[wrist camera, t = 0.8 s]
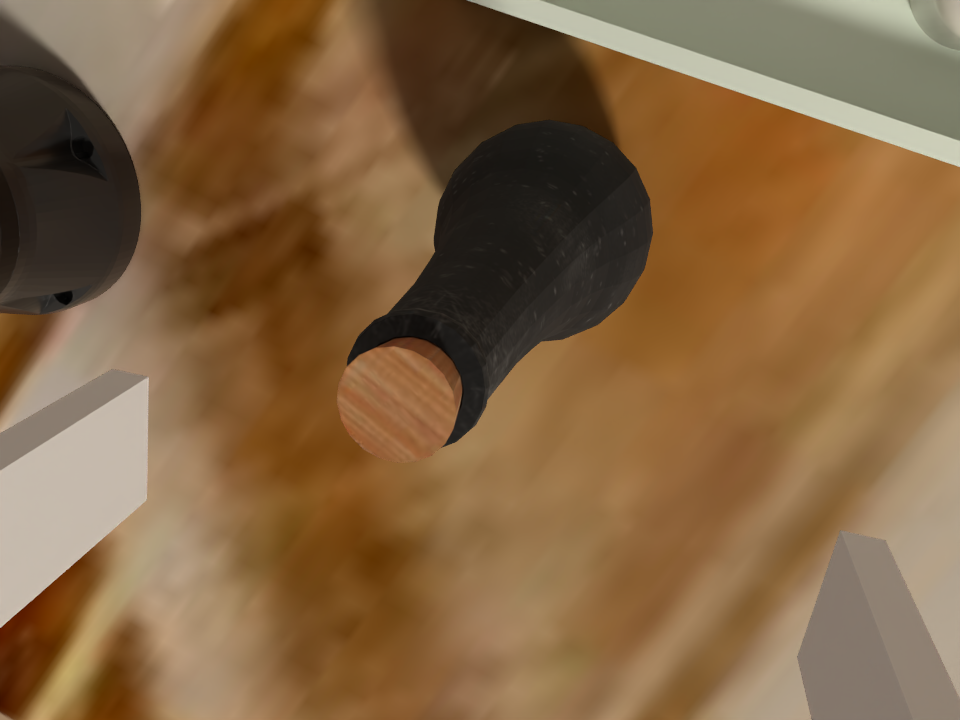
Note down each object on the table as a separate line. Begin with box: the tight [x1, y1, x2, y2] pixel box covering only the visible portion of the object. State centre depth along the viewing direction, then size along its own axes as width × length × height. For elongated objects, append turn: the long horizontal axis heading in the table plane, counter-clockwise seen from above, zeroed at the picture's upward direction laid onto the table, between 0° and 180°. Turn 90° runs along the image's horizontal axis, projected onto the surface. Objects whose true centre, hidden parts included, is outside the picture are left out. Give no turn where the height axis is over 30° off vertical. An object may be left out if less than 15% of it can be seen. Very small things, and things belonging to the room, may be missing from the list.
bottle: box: [337, 120, 653, 463], centre depth 35 cm, size 11×11×30 cm
